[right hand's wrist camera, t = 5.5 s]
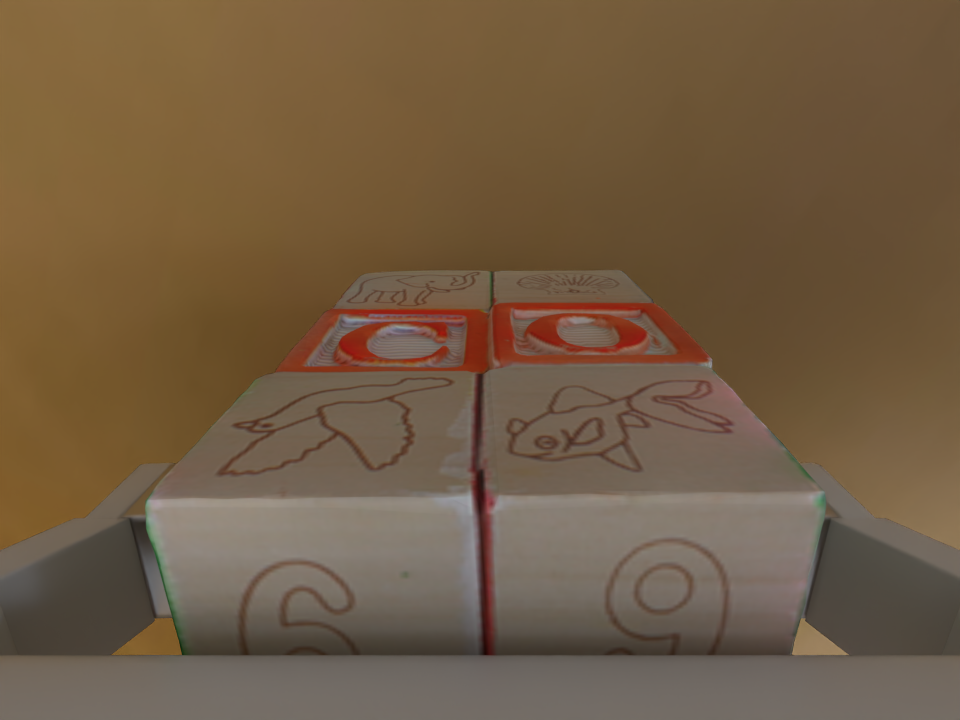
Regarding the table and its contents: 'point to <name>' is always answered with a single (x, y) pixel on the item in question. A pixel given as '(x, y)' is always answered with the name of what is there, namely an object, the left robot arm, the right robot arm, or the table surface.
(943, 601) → the right robot arm
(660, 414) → the stack of blocks
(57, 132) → the table surface
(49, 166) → the table surface
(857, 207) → the table surface
